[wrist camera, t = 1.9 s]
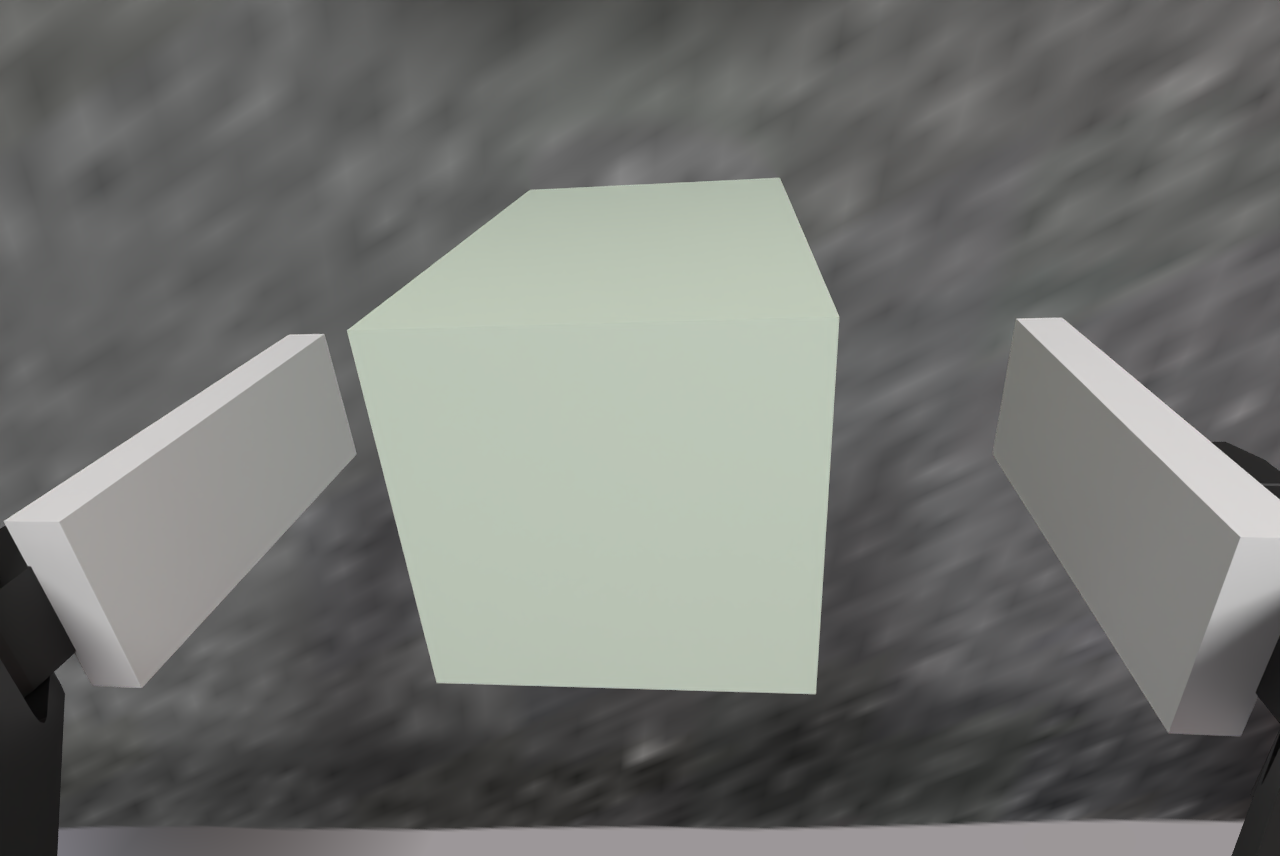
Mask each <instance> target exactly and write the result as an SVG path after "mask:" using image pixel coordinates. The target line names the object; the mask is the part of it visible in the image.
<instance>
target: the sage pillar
mask: <svg viewBox="0 0 1280 856" xmlns="http://www.w3.org/2000/svg"><path fill="white" fill-rule="evenodd" d="M838 330H839V315H838V313H837V310H836V308H835V306H834V303H833V301H832V299H831V296H830V294H829V292H828V289H827V287H826V285H825V282H824V280H823V278H822V275H821V273H820V271H819V268H818V266H817V264H816V261H815V259H814V257H813V254H812V252H811V250H810V247H809V245H808V243H807V240H806V238H805V236H804V233H803V231H802V229H801V226H800V224H799V222H798V219H797V217H796V215H795V212H794V210H793V208H792V205H791V203H790V200H789V198H788V196H787V193H786V191H785V189H784V186H783V184H782V182H781V179H780V178H766V179H745V180H725V181H704V182H684V183H664V184H643V185H623V186H602V187H582V188H561V189H541V190H529V191H528V192H527V193H525V194H524V195H523V196H521V197H520V198H519V199H517V200H516V201H515V202H514V203H512V204H511V205H510V206H508V207H507V208H506V209H504V210H503V211H502V212H501V213H499V214H498V215H497V216H495V217H494V218H493V219H491V220H490V221H489V222H488V223H486V224H485V225H484V226H482V227H481V228H480V229H478V230H477V231H476V232H475V233H473V234H472V235H471V236H469V237H468V238H467V239H465V240H464V241H463V242H462V243H460V244H459V245H458V246H456V247H455V248H454V249H452V250H451V251H450V252H449V253H447V254H446V255H445V256H443V257H442V258H441V259H439V260H438V261H437V262H436V263H434V264H433V265H432V266H430V267H429V268H428V269H426V270H425V271H424V272H422V273H421V274H420V275H419V276H417V277H416V278H415V279H413V280H412V281H411V282H409V283H408V284H407V285H406V286H404V287H403V288H402V289H400V290H399V291H398V292H396V293H395V294H394V295H393V296H391V297H390V298H389V299H387V300H386V301H385V302H383V303H382V304H381V305H380V306H378V307H377V308H376V309H374V310H373V311H372V312H370V313H369V314H368V315H367V316H365V317H364V318H363V319H361V320H360V321H359V322H357V323H356V324H355V325H354V326H352V327H351V328H350V329H348V330H347V332H348V336H349V340H350V344H351V348H352V352H353V356H354V360H355V364H356V368H357V372H358V376H359V380H360V384H361V387H362V391H363V395H364V399H365V403H366V407H367V411H368V415H369V419H370V423H371V427H372V431H373V435H374V439H375V443H376V446H377V450H378V454H379V458H380V462H381V466H382V470H383V474H384V478H385V482H386V486H387V490H388V494H389V498H390V501H391V505H392V509H393V513H394V517H395V521H396V525H397V529H398V533H399V537H400V541H401V545H402V549H403V553H404V556H405V560H406V564H407V568H408V572H409V576H410V580H411V584H412V588H413V592H414V596H415V600H416V604H417V608H418V611H419V615H420V619H421V623H422V627H423V631H424V635H425V639H426V643H427V647H428V651H429V655H430V659H431V663H432V666H433V670H434V674H435V678H436V682H437V683H456V684H490V685H524V686H558V687H591V688H625V689H659V690H693V691H726V692H760V693H794V694H816V685H817V669H818V652H819V636H820V620H821V604H822V588H823V572H824V556H825V540H826V523H827V507H828V491H829V475H830V459H831V443H832V427H833V410H834V394H835V378H836V362H837V346H838Z"/></svg>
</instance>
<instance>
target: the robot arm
mask: <svg viewBox="0 0 1280 856" xmlns="http://www.w3.org/2000/svg"><path fill="white" fill-rule="evenodd" d="M356 454H357V453H356V450H355V446H354V442H353V439H352V435H351V431H350V427H349V424H348V420H347V416H346V412H345V409H344V405H343V401H342V398H341V394H340V390H339V386H338V383H337V379H336V375H335V371H334V368H333V364H332V360H331V357H330V353H329V349H328V345H327V342H326V338H325V334H299V335H288V336H286V337H285V338H283V339H282V340H280V341H278V342H277V343H275V344H274V345H272V346H271V347H269V348H268V349H266V350H265V351H263V352H262V353H260V354H259V355H257V356H256V357H254V358H252V359H251V360H249V361H248V362H246V363H245V364H243V365H242V366H240V367H239V368H237V369H236V370H234V371H233V372H231V373H230V374H228V375H226V376H225V377H223V378H222V379H220V380H219V381H217V382H216V383H214V384H213V385H211V386H210V387H208V388H207V389H205V390H204V391H202V392H201V393H199V394H197V395H196V396H194V397H193V398H191V399H190V400H188V401H187V402H185V403H184V404H182V405H181V406H179V407H178V408H176V409H175V410H173V411H171V412H170V413H168V414H167V415H165V416H164V417H162V418H161V419H159V420H158V421H156V422H155V423H153V424H152V425H150V426H149V427H147V428H145V429H144V430H142V431H141V432H139V433H138V434H136V435H135V436H133V437H132V438H130V439H129V440H127V441H126V442H124V443H123V444H121V445H119V446H118V447H116V448H115V449H113V450H112V451H110V452H109V453H107V454H106V455H104V456H103V457H101V458H100V459H98V460H97V461H95V462H93V463H92V464H90V465H89V466H87V467H86V468H84V469H83V470H81V471H80V472H78V473H77V474H75V475H74V476H72V477H71V478H69V479H67V480H66V481H64V482H63V483H61V484H60V485H58V486H57V487H55V488H54V489H52V490H51V491H49V492H48V493H46V494H45V495H43V496H42V497H40V498H38V499H37V500H35V501H34V502H32V503H31V504H29V505H28V506H26V507H25V508H23V509H22V510H20V511H19V512H17V513H16V514H14V515H12V516H11V517H9V518H8V519H6V520H5V521H4V523H5V526H4V527H2V528H1V529H0V856H57V849H58V827H59V806H60V785H61V763H62V742H63V721H64V699H65V693H64V691H63V688H62V686H61V684H60V682H59V680H58V678H57V677H56V675H55V673H54V671H55V670H56V669H58V668H59V667H60V666H61V665H62V664H63V663H64V662H65V661H66V660H67V659H68V658H69V657H71V656H72V655H73V654H74V653H75V655H76V657H77V658H78V660H79V662H80V664H81V666H82V668H83V670H84V671H85V673H86V675H87V677H88V679H89V681H90V683H91V684H92V686H110V687H133V688H142V687H143V686H144V685H145V684H146V683H147V682H148V681H149V680H150V679H151V677H152V676H153V675H154V674H155V673H156V672H157V671H158V670H159V669H160V668H161V667H162V665H163V664H164V663H165V662H166V661H167V660H168V659H169V658H170V657H171V656H172V655H173V654H174V652H175V651H176V650H177V649H178V648H179V647H180V646H181V645H182V644H183V643H184V642H185V640H186V639H187V638H188V637H189V636H190V635H191V634H192V633H193V632H194V631H195V630H196V628H197V627H198V626H199V625H200V624H201V623H202V622H203V621H204V620H205V619H206V618H207V617H208V615H209V614H210V613H211V612H212V611H213V610H214V609H215V608H216V607H217V606H218V605H219V603H220V602H221V601H222V600H223V599H224V598H225V597H226V596H227V595H228V594H229V593H230V591H231V590H232V589H233V588H234V587H235V586H236V585H237V584H238V583H239V582H240V581H241V580H242V578H243V577H244V576H245V575H246V574H247V573H248V572H249V571H250V570H251V569H252V568H253V566H254V565H255V564H256V563H257V562H258V561H259V560H260V559H261V558H262V557H263V556H264V554H265V553H266V552H267V551H268V550H269V549H270V548H271V547H272V546H273V545H274V544H275V543H276V541H277V540H278V539H279V538H280V537H281V536H282V535H283V534H284V533H285V532H286V531H287V529H288V528H289V527H290V526H291V525H292V524H293V523H294V522H295V521H296V520H297V519H298V517H299V516H300V515H301V514H302V513H303V512H304V511H305V510H306V509H307V508H308V507H309V506H310V504H311V503H312V502H313V501H314V500H315V499H316V498H317V497H318V496H319V495H320V494H321V492H322V491H323V490H324V489H325V488H326V487H327V486H328V485H329V484H330V483H331V482H332V480H333V479H334V478H335V477H336V476H337V475H338V474H339V473H340V472H341V471H342V470H343V468H344V467H345V466H346V465H347V464H348V463H349V462H350V461H351V460H352V459H353V458H354V457H355V455H356ZM993 456H994V457H995V459H996V460H997V462H998V464H999V465H1000V467H1001V468H1002V470H1003V471H1004V473H1005V475H1006V476H1007V478H1008V479H1009V481H1010V483H1011V484H1012V486H1013V487H1014V489H1015V491H1016V492H1017V494H1018V495H1019V497H1020V498H1021V500H1022V502H1023V503H1024V505H1025V506H1026V508H1027V510H1028V511H1029V513H1030V514H1031V516H1032V517H1033V519H1034V521H1035V522H1036V524H1037V525H1038V527H1039V529H1040V530H1041V532H1042V533H1043V535H1044V537H1045V538H1046V540H1047V541H1048V543H1049V544H1050V546H1051V548H1052V549H1053V551H1054V552H1055V554H1056V556H1057V557H1058V559H1059V560H1060V562H1061V563H1062V565H1063V567H1064V568H1065V570H1066V571H1067V573H1068V575H1069V576H1070V578H1071V579H1072V581H1073V583H1074V584H1075V586H1076V587H1077V589H1078V590H1079V592H1080V594H1081V595H1082V597H1083V598H1084V600H1085V602H1086V603H1087V605H1088V606H1089V608H1090V609H1091V611H1092V613H1093V614H1094V616H1095V617H1096V619H1097V621H1098V622H1099V624H1100V625H1101V627H1102V629H1103V630H1104V632H1105V633H1106V635H1107V636H1108V638H1109V640H1110V641H1111V643H1112V644H1113V646H1114V648H1115V649H1116V651H1117V652H1118V654H1119V656H1120V657H1121V659H1122V660H1123V662H1124V663H1125V665H1126V667H1127V668H1128V670H1129V671H1130V673H1131V675H1132V676H1133V678H1134V679H1135V681H1136V682H1137V684H1138V686H1139V687H1140V689H1141V690H1142V692H1143V694H1144V695H1145V697H1146V698H1147V700H1148V702H1149V703H1150V705H1151V706H1152V708H1153V709H1154V711H1155V713H1156V714H1157V716H1158V717H1159V719H1160V721H1161V722H1162V724H1163V725H1164V727H1165V728H1166V730H1167V732H1168V733H1174V734H1197V735H1220V736H1241V735H1242V733H1243V730H1244V728H1245V726H1246V723H1247V721H1248V719H1249V716H1250V714H1251V712H1252V709H1253V707H1254V705H1255V703H1256V700H1257V698H1258V697H1259V698H1260V699H1261V701H1262V702H1263V703H1264V704H1265V705H1266V707H1267V708H1268V709H1269V710H1270V712H1271V713H1272V714H1273V715H1274V717H1275V718H1276V719H1277V720H1278V722H1279V723H1280V471H1278V470H1277V469H1276V468H1274V467H1273V466H1272V465H1271V464H1269V463H1268V462H1267V461H1266V460H1264V459H1261V458H1259V457H1257V456H1255V455H1253V454H1251V453H1248V452H1246V451H1244V450H1242V449H1240V448H1238V447H1236V446H1233V445H1231V444H1229V443H1227V442H1210V441H1209V440H1208V439H1207V438H1205V437H1204V436H1203V435H1202V434H1201V433H1199V432H1198V431H1197V430H1196V429H1195V428H1193V427H1192V426H1191V425H1190V424H1189V423H1187V422H1186V421H1185V420H1184V419H1183V418H1181V417H1180V416H1179V415H1178V414H1177V413H1175V412H1174V411H1173V410H1172V409H1171V408H1169V407H1168V406H1167V405H1166V404H1165V403H1164V402H1162V401H1161V400H1160V399H1159V398H1158V397H1156V396H1155V395H1154V394H1153V393H1152V392H1150V391H1149V390H1148V389H1147V388H1146V387H1144V386H1143V385H1142V384H1141V383H1140V382H1138V381H1137V380H1136V379H1135V378H1134V377H1132V376H1131V375H1130V374H1129V373H1128V372H1126V371H1125V370H1124V369H1123V368H1122V367H1120V366H1119V365H1118V364H1117V363H1116V362H1114V361H1113V360H1112V359H1111V358H1110V357H1108V356H1107V355H1106V354H1105V353H1104V352H1102V351H1101V350H1100V349H1099V348H1098V347H1096V346H1095V345H1094V344H1093V343H1092V342H1090V341H1089V340H1088V339H1087V338H1086V337H1084V336H1083V335H1082V334H1081V333H1080V332H1078V331H1077V330H1076V329H1075V328H1074V327H1073V326H1071V325H1070V324H1069V323H1068V322H1067V321H1065V320H1064V319H1063V318H1024V319H1016V322H1015V328H1014V334H1013V340H1012V345H1011V351H1010V357H1009V363H1008V368H1007V374H1006V380H1005V385H1004V391H1003V397H1002V403H1001V408H1000V414H999V420H998V426H997V431H996V437H995V443H994V449H993ZM1250 795H1251V796H1253V799H1252V802H1251V805H1250V808H1249V810H1248V813H1247V816H1246V818H1245V821H1244V824H1243V826H1242V829H1241V832H1240V835H1239V837H1238V840H1237V843H1236V845H1235V848H1234V851H1233V854H1232V856H1280V731H1279V733H1278V735H1277V737H1276V740H1275V742H1274V744H1273V746H1272V748H1271V750H1270V753H1269V755H1268V757H1267V759H1266V761H1265V763H1264V765H1263V768H1262V770H1261V772H1260V774H1259V776H1258V778H1257V781H1256V783H1255V785H1254V787H1253V789H1252V791H1251V794H1250Z"/></svg>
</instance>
